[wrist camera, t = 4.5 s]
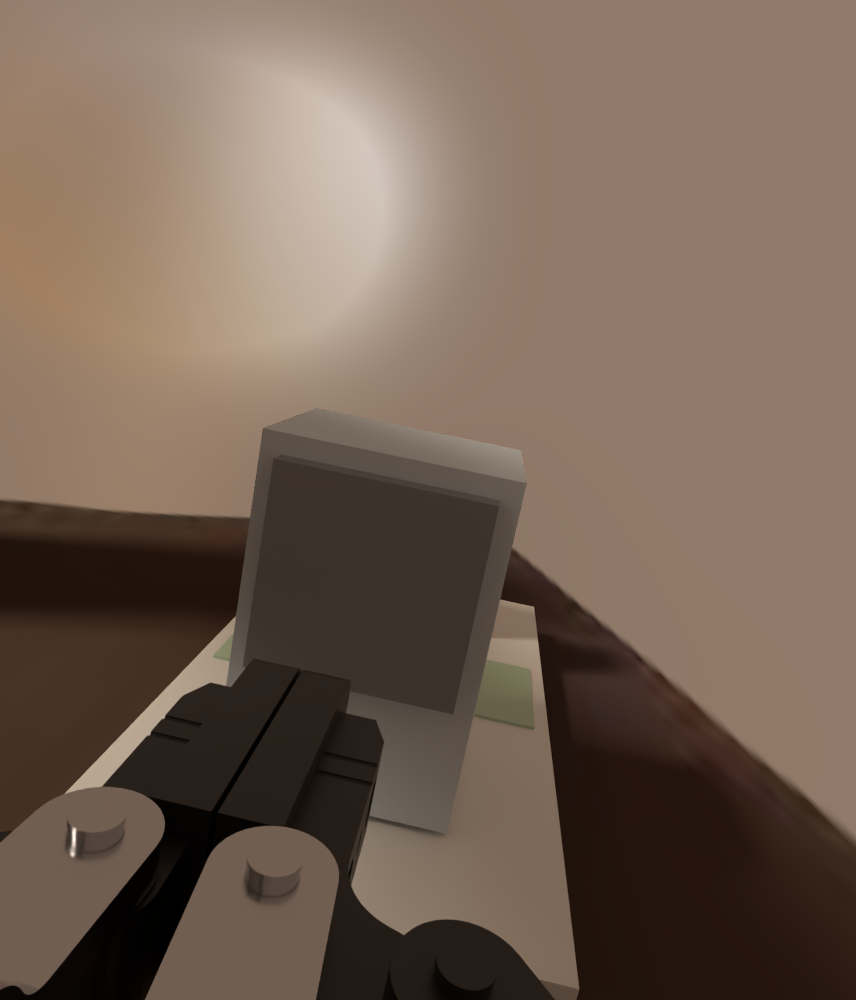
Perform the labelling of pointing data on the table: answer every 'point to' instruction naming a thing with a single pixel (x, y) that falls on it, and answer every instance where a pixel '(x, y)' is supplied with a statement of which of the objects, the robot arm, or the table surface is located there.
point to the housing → (454, 813)
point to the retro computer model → (382, 584)
